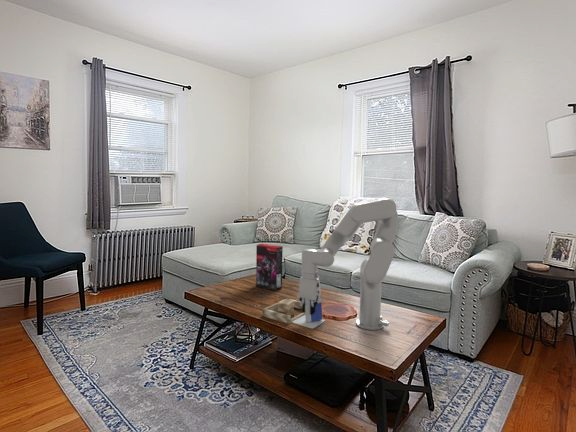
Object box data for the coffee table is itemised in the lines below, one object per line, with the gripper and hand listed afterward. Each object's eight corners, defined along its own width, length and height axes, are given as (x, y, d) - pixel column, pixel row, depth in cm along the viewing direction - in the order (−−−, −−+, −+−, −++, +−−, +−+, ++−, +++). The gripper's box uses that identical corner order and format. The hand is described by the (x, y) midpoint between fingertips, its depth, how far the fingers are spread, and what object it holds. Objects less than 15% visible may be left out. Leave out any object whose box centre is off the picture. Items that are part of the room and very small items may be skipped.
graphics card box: (255, 286, 224) (255, 244, 222) (262, 284, 230) (262, 243, 228) (276, 291, 215) (276, 247, 212) (282, 288, 220) (283, 246, 218)
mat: (325, 320, 168) (325, 320, 168) (312, 328, 158) (312, 328, 158) (304, 315, 175) (304, 314, 175) (291, 322, 165) (291, 321, 165)
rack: (312, 311, 181) (312, 304, 181) (289, 323, 164) (289, 316, 164) (287, 304, 190) (287, 298, 190) (262, 316, 173) (262, 309, 173)
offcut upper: (293, 308, 173) (293, 300, 173) (288, 312, 168) (288, 304, 167) (283, 307, 175) (283, 299, 175) (278, 311, 170) (278, 303, 170)
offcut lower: (294, 317, 173) (294, 309, 172) (287, 321, 168) (287, 313, 167) (284, 314, 176) (284, 306, 176) (277, 318, 171) (277, 310, 171)
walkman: (319, 318, 170) (318, 293, 169) (322, 319, 167) (320, 294, 167) (305, 320, 167) (303, 296, 166) (307, 322, 164) (306, 297, 164)
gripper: (328, 276, 163) (327, 314, 165) (299, 271, 173) (298, 307, 174) (320, 279, 157) (319, 319, 159) (290, 274, 167) (289, 311, 168)
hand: (308, 312), depth 166 cm, fingers open, 3 cm apart
